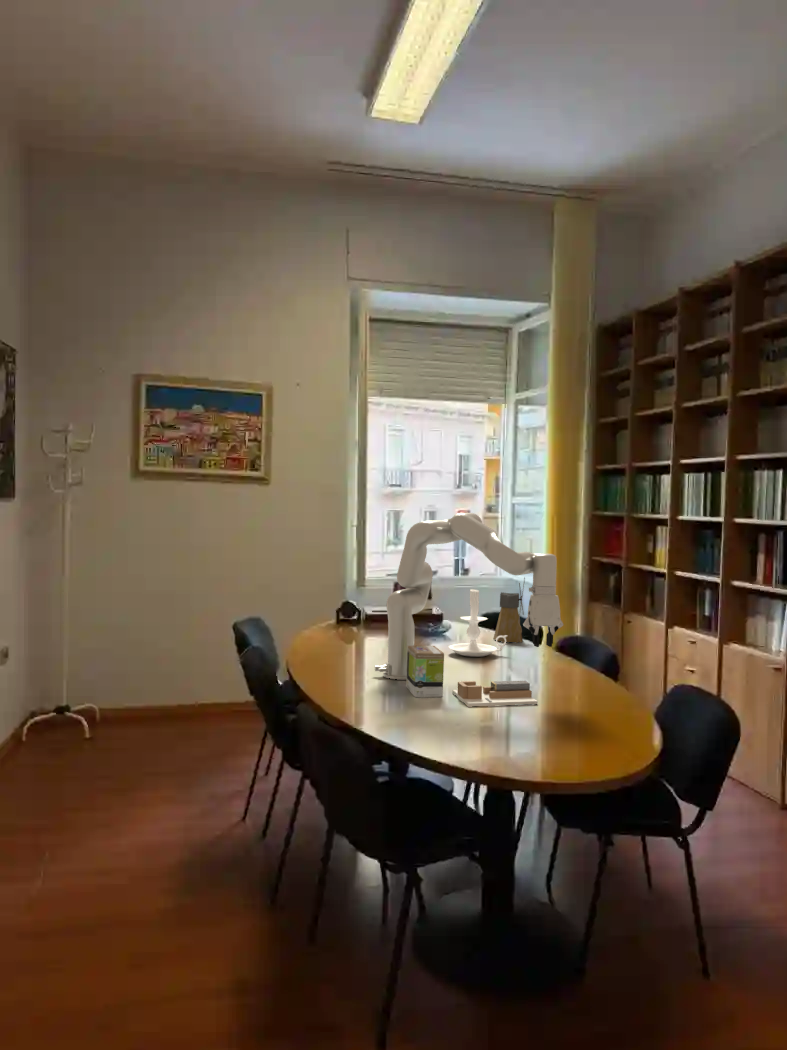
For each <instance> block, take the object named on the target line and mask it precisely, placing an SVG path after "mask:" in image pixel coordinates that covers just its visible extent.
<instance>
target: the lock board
mask: <svg viewBox="0 0 787 1050" xmlns="http://www.w3.org/2000/svg"><path fill="white" fill-rule="evenodd" d="M532 691H533V690H531V689H530V690H516V691H491V685H490V686H482V685H477V681H475V680H464V681H463V680H461V681H457V689H452V695H454V696H455V695H456V696H457V697H458V698H459V699H458V698H457V697H456V696H455V697H456V698H457V699H458V700H459V701H460V702H462V703H463V702H464V703H465V704H466V705H467V706H466V707H468V708H473V707H472V706H488V707H496V706H495V705H515V704H537V705H538V700H536V699H535V698H534V697H532V696H533V694H532V693H533V692H532ZM464 703H463V704H464ZM465 704H464V705H465Z"/></svg>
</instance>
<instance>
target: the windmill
mask: <svg viewBox="0 0 787 1050" xmlns="http://www.w3.org/2000/svg"><path fill="white" fill-rule="evenodd" d="M525 581H526V578H525V576H524V578H523V585H522V590H519V592H516V593H515V592H513V593H512V592H510V593H508V592H502V591H501V592H500V595H499V608H500V611H499V615H498V620H497V623H496V627H495V631H494V634H493V637H492V638H493V640H494V639H495V640H496V638H497V637H498V636H505V635H507V637H506V642H516V644H517V643H518V642H519V643H523V642H524V639H523V634H522V633H523V629H522V626H521V619H520V617H521V613H522V616H525V612H524V605H523V596H524V590H525V589H524V588H525ZM518 587H519V589H521V582H518ZM518 608H520V609H518ZM521 611H522V612H521ZM495 640H494V641H495ZM498 641H502V642H501V643H504V642H505V640H504V638H502V637H500V638H498V640H497V642H498ZM522 641H523V642H522Z"/></svg>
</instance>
